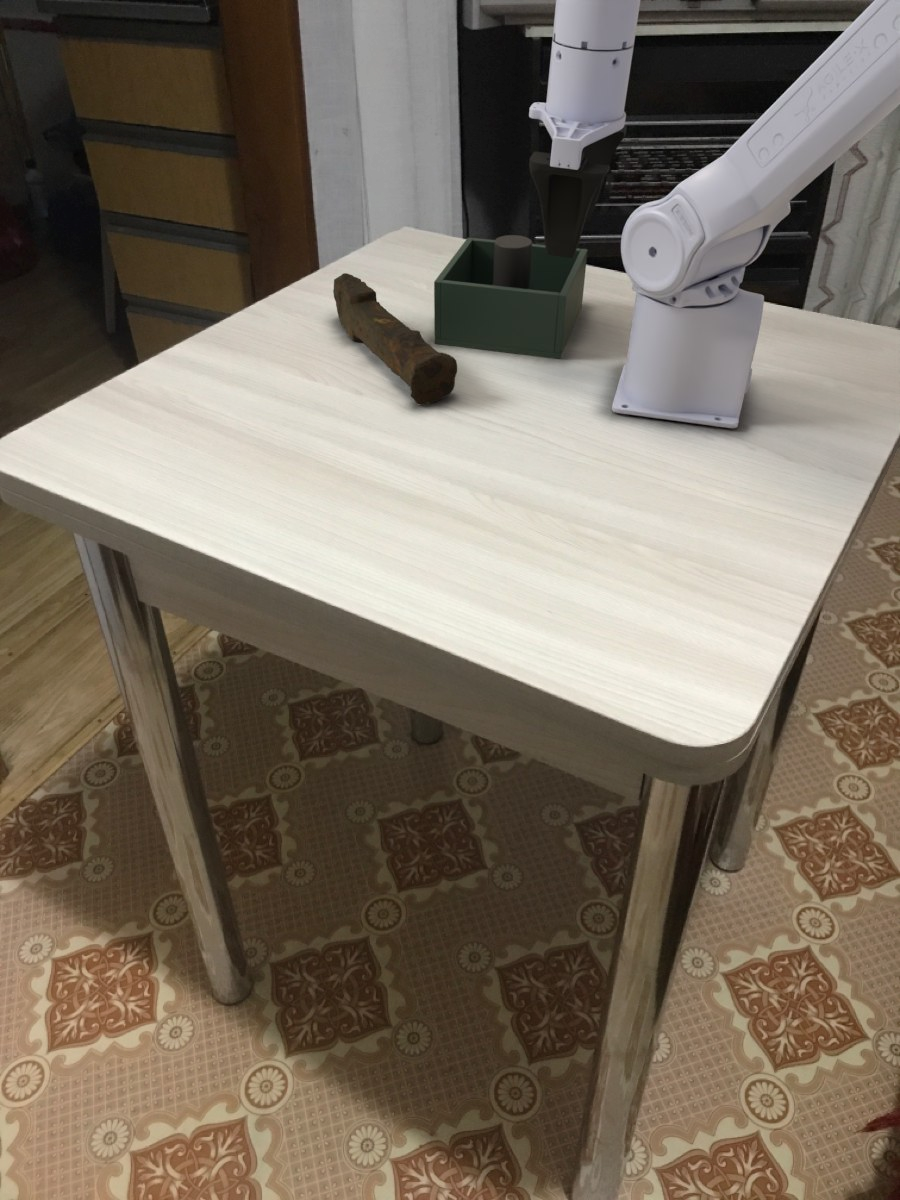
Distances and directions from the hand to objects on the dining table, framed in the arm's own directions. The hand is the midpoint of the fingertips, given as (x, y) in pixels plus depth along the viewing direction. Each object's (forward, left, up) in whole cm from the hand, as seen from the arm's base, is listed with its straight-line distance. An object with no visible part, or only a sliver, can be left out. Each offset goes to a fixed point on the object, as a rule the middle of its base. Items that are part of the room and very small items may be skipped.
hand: (568, 237), depth 73 cm
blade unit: (+5, -3, -9) cm, 11 cm away
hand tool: (+14, +6, -10) cm, 18 cm away
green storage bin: (+5, -3, -9) cm, 11 cm away
